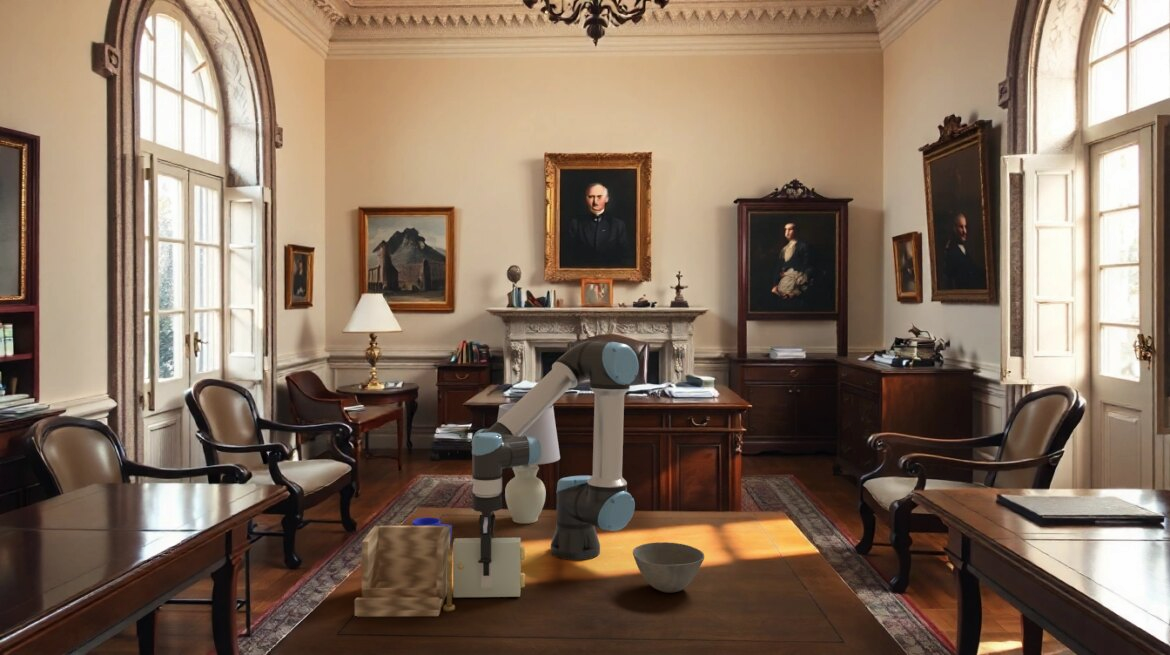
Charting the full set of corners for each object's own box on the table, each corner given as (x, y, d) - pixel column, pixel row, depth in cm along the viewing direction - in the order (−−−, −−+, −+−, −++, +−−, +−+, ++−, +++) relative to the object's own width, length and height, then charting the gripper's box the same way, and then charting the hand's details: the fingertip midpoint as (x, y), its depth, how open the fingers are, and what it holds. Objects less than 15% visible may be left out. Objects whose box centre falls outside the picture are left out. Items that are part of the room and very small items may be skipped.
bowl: (618, 590, 207) (618, 553, 207) (658, 572, 222) (659, 537, 221) (677, 609, 195) (678, 569, 195) (716, 588, 210) (717, 551, 209)
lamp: (569, 515, 281) (570, 404, 280) (544, 533, 258) (545, 412, 257) (508, 508, 289) (509, 400, 288) (478, 525, 266) (479, 408, 265)
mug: (446, 560, 230) (446, 526, 230) (407, 557, 232) (408, 523, 232) (456, 551, 238) (456, 519, 238) (419, 548, 240) (419, 516, 240)
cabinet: (462, 584, 210) (463, 525, 210) (452, 616, 189) (453, 550, 189) (374, 585, 209) (374, 525, 208) (354, 616, 188) (354, 550, 188)
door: (525, 590, 205) (525, 537, 204) (524, 597, 200) (524, 543, 199) (455, 591, 204) (454, 538, 203) (452, 598, 199) (452, 544, 198)
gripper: (475, 485, 210) (475, 572, 210) (469, 502, 193) (469, 596, 193) (503, 485, 210) (503, 572, 211) (499, 502, 193) (499, 596, 194)
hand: (487, 583), depth 202 cm, fingers closed on door, 4 cm apart
